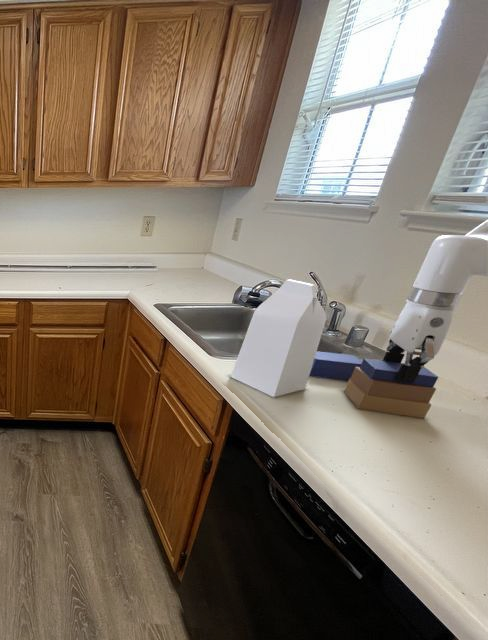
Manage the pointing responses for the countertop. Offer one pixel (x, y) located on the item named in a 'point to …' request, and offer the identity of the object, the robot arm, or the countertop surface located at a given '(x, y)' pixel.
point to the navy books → (334, 365)
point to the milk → (282, 340)
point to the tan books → (388, 395)
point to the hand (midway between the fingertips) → (395, 374)
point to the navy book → (395, 372)
